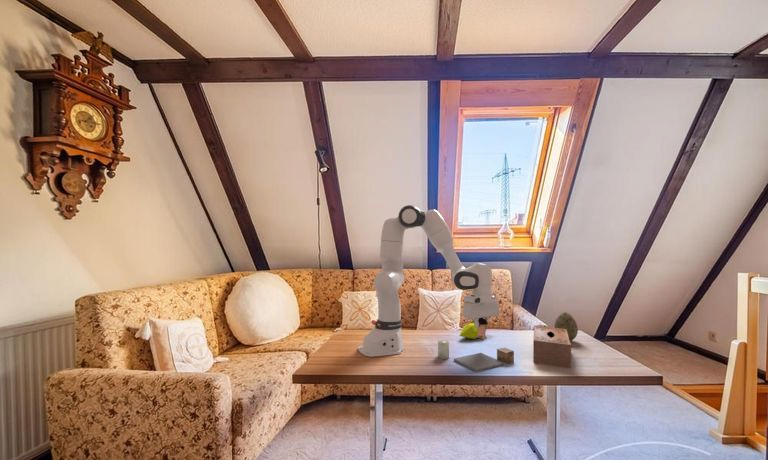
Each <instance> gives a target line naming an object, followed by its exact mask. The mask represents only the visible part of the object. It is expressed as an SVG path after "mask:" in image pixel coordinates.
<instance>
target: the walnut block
mask: <svg viewBox="0 0 768 460" xmlns="http://www.w3.org/2000/svg"><path fill="white" fill-rule="evenodd" d="M496 359H497V360H499V361H501V362H504V363H505V364H504V365H508V364H511V362H512V363H515V351H514V350H512V349H511V348H507V347H501V348H498V349H496ZM507 363H508V364H507Z"/></svg>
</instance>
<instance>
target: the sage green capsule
mask: <svg viewBox="0 0 768 460" xmlns="http://www.w3.org/2000/svg"><path fill="white" fill-rule="evenodd" d="M437 357H438V359H441V360H447V359H450V341H449V340H446V339H439V340H438V341H437Z"/></svg>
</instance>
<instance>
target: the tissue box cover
mask: <svg viewBox="0 0 768 460" xmlns="http://www.w3.org/2000/svg"><path fill="white" fill-rule="evenodd" d="M533 326H534V327H533V342H532V345H533V346H532V347H533V349H532V350H533V355H532V356H533V357H532V359H533V360H532V361H533V363H534V364H540V365H545V366H546V365H547V366H555V367H561V368H567V369H571V368H572V343H571V341H570V340H569V336H568V333H567V329H560V328H554V327H549V326H538V325H533Z"/></svg>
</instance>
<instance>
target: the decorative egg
mask: <svg viewBox="0 0 768 460" xmlns="http://www.w3.org/2000/svg"><path fill="white" fill-rule="evenodd" d="M553 328H560V329H567V333H568V336H569V340H570V342H572V341H573V340H575V339H576V338H577V336H578V331H579V329H578V325H577V322H576V320H575V318H574V317H573V315H571V314H570V313H569V312H566V311H563V312H561V313H560V314H559V315H558V316H557V318H556V319H555V322H554V326H553Z"/></svg>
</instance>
